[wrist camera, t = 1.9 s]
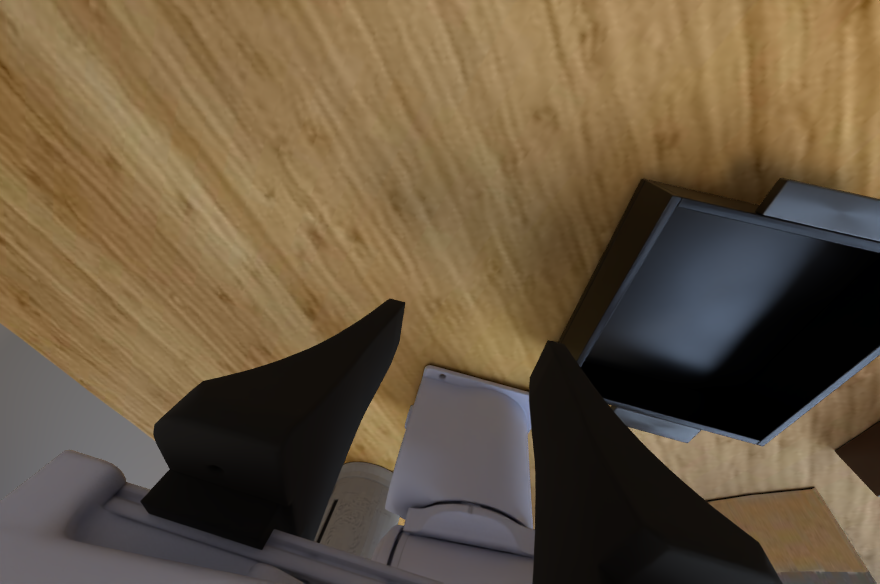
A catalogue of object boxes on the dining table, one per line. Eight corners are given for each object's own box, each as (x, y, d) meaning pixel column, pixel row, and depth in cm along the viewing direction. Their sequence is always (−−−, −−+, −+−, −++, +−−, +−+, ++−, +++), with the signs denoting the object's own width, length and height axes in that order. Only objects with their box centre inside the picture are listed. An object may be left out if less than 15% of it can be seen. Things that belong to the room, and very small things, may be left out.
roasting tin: (545, 366, 23) (550, 405, 20) (656, 147, 15) (693, 158, 12) (714, 412, 22) (746, 459, 19) (925, 207, 14) (1035, 233, 11)
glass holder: (388, 514, 39) (329, 711, 26) (284, 460, 37) (167, 646, 24) (423, 489, 34) (373, 713, 22) (308, 426, 32) (179, 633, 20)
